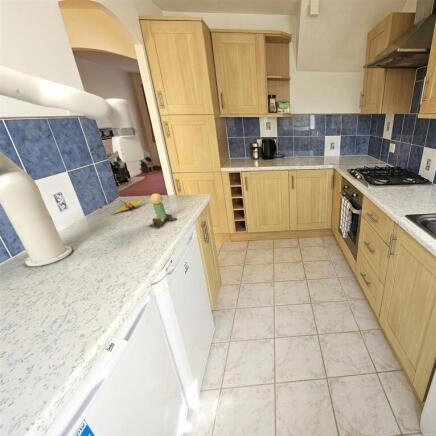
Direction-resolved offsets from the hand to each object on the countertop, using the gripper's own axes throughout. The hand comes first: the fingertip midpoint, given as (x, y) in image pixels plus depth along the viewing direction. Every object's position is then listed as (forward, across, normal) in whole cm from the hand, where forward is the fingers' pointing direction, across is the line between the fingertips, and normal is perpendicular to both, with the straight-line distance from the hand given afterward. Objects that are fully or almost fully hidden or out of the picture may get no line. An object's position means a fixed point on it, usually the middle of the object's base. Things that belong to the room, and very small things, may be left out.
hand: (135, 174), depth 104 cm
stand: (+24, -5, +4) cm, 25 cm away
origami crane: (+24, -12, -30) cm, 41 cm away
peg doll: (+21, -5, +4) cm, 22 cm away
